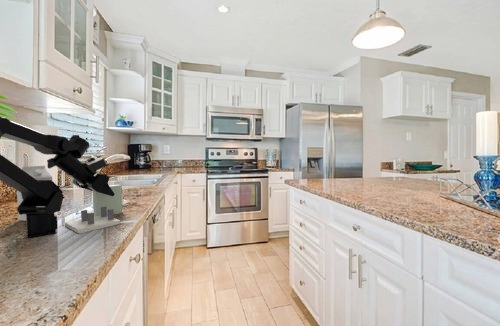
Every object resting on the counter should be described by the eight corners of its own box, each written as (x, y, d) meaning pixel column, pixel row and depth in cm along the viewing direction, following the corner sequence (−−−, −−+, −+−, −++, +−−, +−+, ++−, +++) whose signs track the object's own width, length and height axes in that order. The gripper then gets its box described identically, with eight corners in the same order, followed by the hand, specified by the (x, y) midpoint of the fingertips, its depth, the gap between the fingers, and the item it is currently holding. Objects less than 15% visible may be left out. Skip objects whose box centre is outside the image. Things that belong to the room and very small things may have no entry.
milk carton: (18, 220, 86) (15, 166, 85) (40, 215, 93) (38, 165, 91) (32, 222, 84) (29, 167, 83) (54, 216, 90) (51, 165, 89)
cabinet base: (78, 233, 73) (78, 218, 72) (65, 225, 80) (64, 211, 80) (120, 223, 82) (119, 210, 82) (104, 217, 90) (104, 204, 89)
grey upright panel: (97, 217, 89) (96, 188, 89) (93, 216, 91) (92, 187, 91) (123, 212, 97) (122, 185, 96) (119, 211, 99) (118, 184, 98)
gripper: (102, 150, 83) (134, 179, 92) (81, 150, 94) (112, 176, 104) (76, 175, 77) (113, 203, 87) (56, 172, 88) (92, 197, 98)
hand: (108, 193), depth 94 cm, fingers open, 9 cm apart
